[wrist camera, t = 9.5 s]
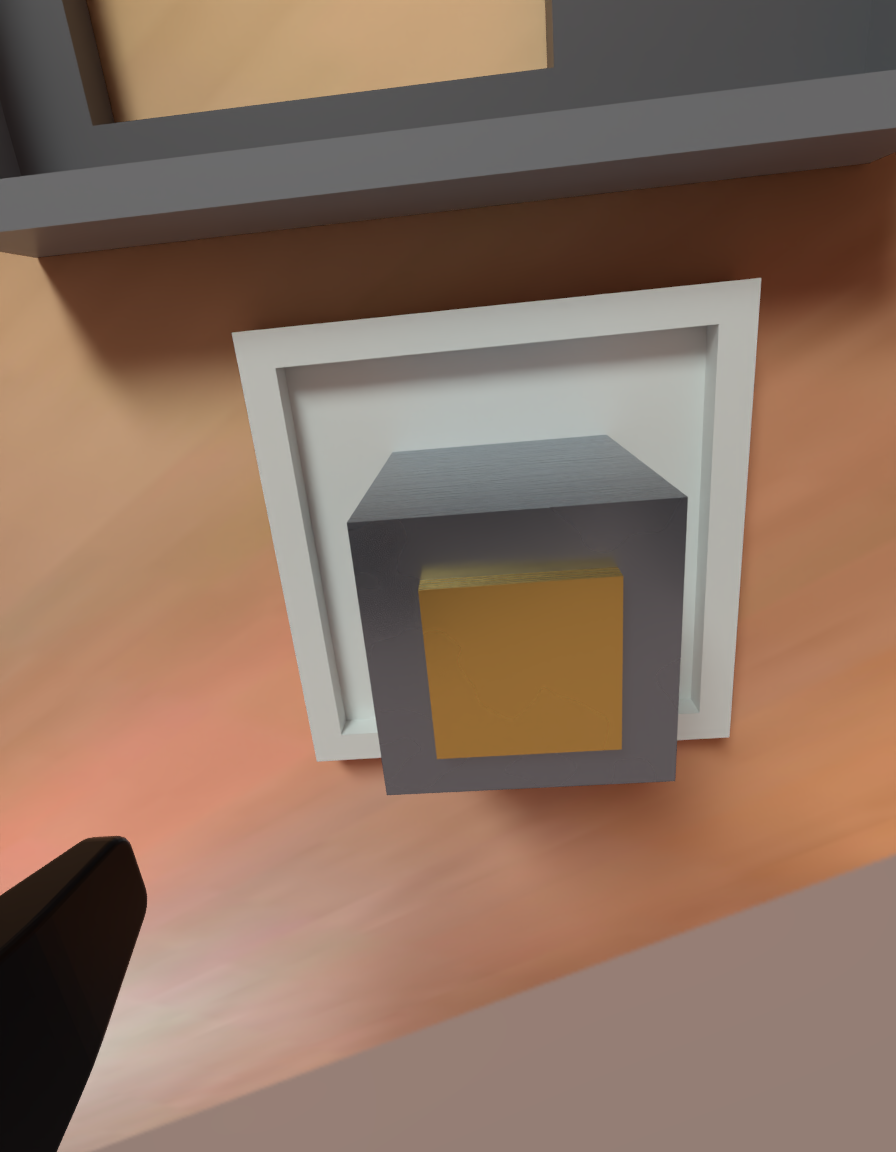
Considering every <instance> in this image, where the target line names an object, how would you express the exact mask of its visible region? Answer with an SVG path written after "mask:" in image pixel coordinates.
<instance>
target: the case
mask: <svg viewBox="0 0 896 1152" xmlns="http://www.w3.org/2000/svg"><path fill="white" fill-rule="evenodd" d="M545 11H546V41H547V68H546V69H538V70H530V71H522V72H514V73H506V74H498V75H491V76H483V77H475V78H467V79H459V80H451V81H443V82H435V83H427V84H419V85H411V86H404V87H396V88H388V89H380V90H372V91H364V92H356V93H348V94H340V95H332V96H324V97H317V98H309V99H301V100H293V101H285V102H277V103H269V104H261V105H253V106H245V107H237V108H230V109H222V110H214V111H206V112H198V113H190V114H182V115H174V116H166V117H158V118H150V119H143V120H135V121H127V122H119V123H115V122H114V118H113V114H112V110H111V105H110V101H109V97H108V92H107V88H106V84H105V80H104V75H103V71H102V67H101V63H100V58H99V54H98V50H97V45H96V41H95V37H94V33H93V28H92V24H91V20H90V15H89V11H88V7H87V3H86V0H0V252H5V253H11V254H17V255H23V256H29V257H35V258H37V257H46V256H55V255H64V254H72V253H81V252H90V251H99V250H108V249H117V248H125V247H134V246H143V245H152V244H161V243H169V242H178V241H187V240H196V239H205V238H214V237H222V236H231V235H240V234H249V233H258V232H267V231H275V230H284V229H293V228H302V227H311V226H319V225H328V224H337V223H346V222H355V221H364V220H372V219H381V218H390V217H399V216H408V215H416V214H425V213H434V212H443V211H452V210H461V209H469V208H478V207H487V206H496V205H505V204H513V203H522V202H531V201H540V200H549V199H558V198H566V197H575V196H584V195H593V194H602V193H610V192H619V191H628V190H637V189H646V188H655V187H663V186H672V185H681V184H690V183H699V182H708V181H716V180H725V179H734V178H743V177H752V176H760V175H769V174H778V173H787V172H796V171H805V170H813V169H822V168H831V167H840V166H849V165H857V164H866V163H871V162H873V161H875V160H878V159H880V158H882V157H885V156H887V155H890V154H892V153H894V152H896V0H545Z"/></svg>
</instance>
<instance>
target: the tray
mask: <svg viewBox="0 0 896 1152" xmlns="http://www.w3.org/2000/svg"><path fill="white" fill-rule="evenodd" d="M760 292H761V278H754V279H745V280H735V281H725V282H716V283H706V284H696V285H687V286H677V287H667V288H658V289H648V290H638V291H629V292H619V293H609V294H600V295H590V296H580V297H571V298H561V299H551V300H542V301H532V302H522V303H513V304H503V305H493V306H484V307H474V308H464V309H455V310H445V311H435V312H426V313H416V314H406V315H397V316H387V317H377V318H368V319H358V320H348V321H339V322H329V323H319V324H310V325H300V326H290V327H281V328H271V329H261V330H252V331H242V332H232V337H233V343H234V348H235V353H236V358H237V363H238V368H239V373H240V378H241V383H242V388H243V393H244V398H245V403H246V408H247V413H248V418H249V423H250V428H251V433H252V438H253V443H254V448H255V453H256V458H257V463H258V468H259V473H260V478H261V483H262V488H263V493H264V498H265V503H266V508H267V513H268V518H269V523H270V528H271V533H272V538H273V543H274V548H275V553H276V558H277V563H278V568H279V573H280V578H281V583H282V588H283V593H284V598H285V604H286V609H287V614H288V619H289V624H290V629H291V634H292V639H293V644H294V649H295V654H296V659H297V664H298V669H299V674H300V679H301V684H302V689H303V694H304V699H305V704H306V709H307V714H308V719H309V724H310V729H311V734H312V739H313V744H314V749H315V754H316V759H317V762H318V761H334V760H351V759H368V758H381V752H380V745H379V738H378V731H377V725H376V718H375V711H374V704H373V698H372V691H371V684H370V677H369V671H368V664H367V657H366V650H365V643H364V637H363V630H362V623H361V616H360V610H359V603H358V596H357V589H356V583H355V576H354V569H353V562H352V556H351V549H350V542H349V535H348V528H347V522H348V520H349V518H350V517H351V515H352V514H353V512H354V511H355V509H356V508H357V506H358V505H359V503H360V501H361V500H362V498H363V497H364V495H365V494H366V492H367V491H368V489H369V488H370V486H371V484H372V483H373V481H374V480H375V478H376V477H377V475H378V474H379V472H380V471H381V469H382V467H383V466H384V464H385V463H386V461H387V460H388V458H389V457H390V455H391V454H392V452H401V451H413V450H425V449H437V448H449V447H461V446H474V445H486V444H498V443H510V442H522V441H534V440H547V439H559V438H571V437H583V436H595V435H608V436H609V437H610V438H612V439H613V440H614V441H615V442H617V443H618V444H619V445H621V446H622V447H623V448H625V449H626V450H627V451H629V452H630V453H631V454H632V455H634V456H635V457H636V458H638V459H639V460H640V461H642V462H643V463H644V464H646V465H647V466H648V467H649V468H651V469H652V470H653V471H655V472H656V473H657V474H659V475H660V476H661V477H663V478H664V479H665V480H666V481H668V482H669V483H670V484H672V485H673V486H674V487H676V488H677V489H678V490H680V491H681V492H682V493H683V494H685V495H686V496H687V497H688V508H687V531H686V553H685V575H684V597H683V619H682V642H681V664H680V686H679V708H678V730H677V740H691V739H708V738H725V737H729V735H730V721H731V707H732V692H733V678H734V664H735V650H736V635H737V621H738V607H739V592H740V578H741V564H742V549H743V535H744V521H745V506H746V492H747V478H748V463H749V449H750V435H751V420H752V406H753V392H754V378H755V363H756V349H757V335H758V320H759V306H760Z"/></svg>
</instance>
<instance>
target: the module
mask: <svg viewBox="0 0 896 1152" xmlns="http://www.w3.org/2000/svg"><path fill="white" fill-rule="evenodd" d="M687 508H688V497H687V496H686V495H685V494H683V493H682V492H681V491H680V490H678V489H677V488H676V487H674V486H673V485H672V484H670V483H669V482H668V481H666V480H665V479H664V478H663V477H661V476H660V475H659V474H657V473H656V472H655V471H653V470H652V469H651V468H649V467H648V466H647V465H646V464H644V463H643V462H642V461H640V460H639V459H638V458H636V457H635V456H634V455H632V454H631V453H630V452H629V451H627V450H626V449H625V448H623V447H622V446H621V445H619V444H618V443H617V442H615V441H614V440H613V439H612V438H610V437H609V436H608V435H595V436H583V437H571V438H559V439H547V440H534V441H522V442H510V443H498V444H486V445H474V446H461V447H449V448H437V449H425V450H413V451H401V452H392V454H391V455H390V457H389V458H388V460H387V461H386V463H385V464H384V466H383V467H382V469H381V471H380V472H379V474H378V475H377V477H376V478H375V480H374V481H373V483H372V484H371V486H370V488H369V489H368V491H367V492H366V494H365V495H364V497H363V498H362V500H361V501H360V503H359V505H358V506H357V508H356V509H355V511H354V512H353V514H352V515H351V517H350V518H349V520H348V522H347V528H348V535H349V542H350V549H351V556H352V562H353V569H354V576H355V583H356V589H357V596H358V603H359V610H360V616H361V623H362V630H363V637H364V643H365V650H366V657H367V664H368V671H369V677H370V684H371V691H372V698H373V704H374V711H375V718H376V725H377V731H378V738H379V745H380V752H381V758H382V765H383V772H384V779H385V786H386V792H387V795H401V794H421V793H441V792H462V791H482V790H503V789H523V788H543V787H564V786H584V785H605V784H625V783H646V782H666V781H675V775H676V752H677V730H678V708H679V686H680V664H681V642H682V619H683V597H684V575H685V553H686V531H687Z"/></svg>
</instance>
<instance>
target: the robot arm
mask: <svg viewBox="0 0 896 1152" xmlns="http://www.w3.org/2000/svg"><path fill="white" fill-rule="evenodd" d="M146 907H147V893H146V888H145V885H144V882H143V879H142V876H141V873H140V870H139V867H138V864H137V861H136V858H135V855H134V853H133V850H132V847H131V844H130V842H129V841H128V840H127V839H126V838H124V837H121V836H107V837H92V838H87V839H85V840H83V841H81V842H79V843H78V844H76V845H75V846H73V847H72V848H70V849H69V850H67V851H66V852H64V853H63V854H62V855H60V856H59V857H57V858H56V859H54V860H53V861H51V862H50V863H48V864H47V865H45V866H44V867H42V868H41V869H39V870H38V871H36V872H35V873H33V874H32V875H30V876H29V877H27V878H26V879H24V880H23V881H21V882H20V883H18V884H17V885H15V886H14V887H12V888H11V889H9V890H8V891H6V892H5V893H3V894H2V895H0V1152H57V1150H58V1148H59V1145H60V1143H61V1141H62V1138H63V1136H64V1134H65V1131H66V1129H67V1127H68V1125H69V1122H70V1120H71V1118H72V1115H73V1113H74V1111H75V1109H76V1106H77V1104H78V1102H79V1099H80V1097H81V1095H82V1092H83V1090H84V1088H85V1085H86V1083H87V1080H88V1078H89V1076H90V1073H91V1071H92V1068H93V1066H94V1063H95V1060H96V1058H97V1055H98V1052H99V1049H100V1047H101V1044H102V1041H103V1038H104V1035H105V1032H106V1030H107V1027H108V1024H109V1021H110V1018H111V1015H112V1012H113V1009H114V1006H115V1003H116V1000H117V997H118V994H119V991H120V988H121V985H122V982H123V979H124V976H125V973H126V970H127V967H128V964H129V961H130V958H131V955H132V952H133V949H134V947H135V944H136V941H137V938H138V935H139V932H140V929H141V926H142V923H143V920H144V917H145V913H146Z"/></svg>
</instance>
